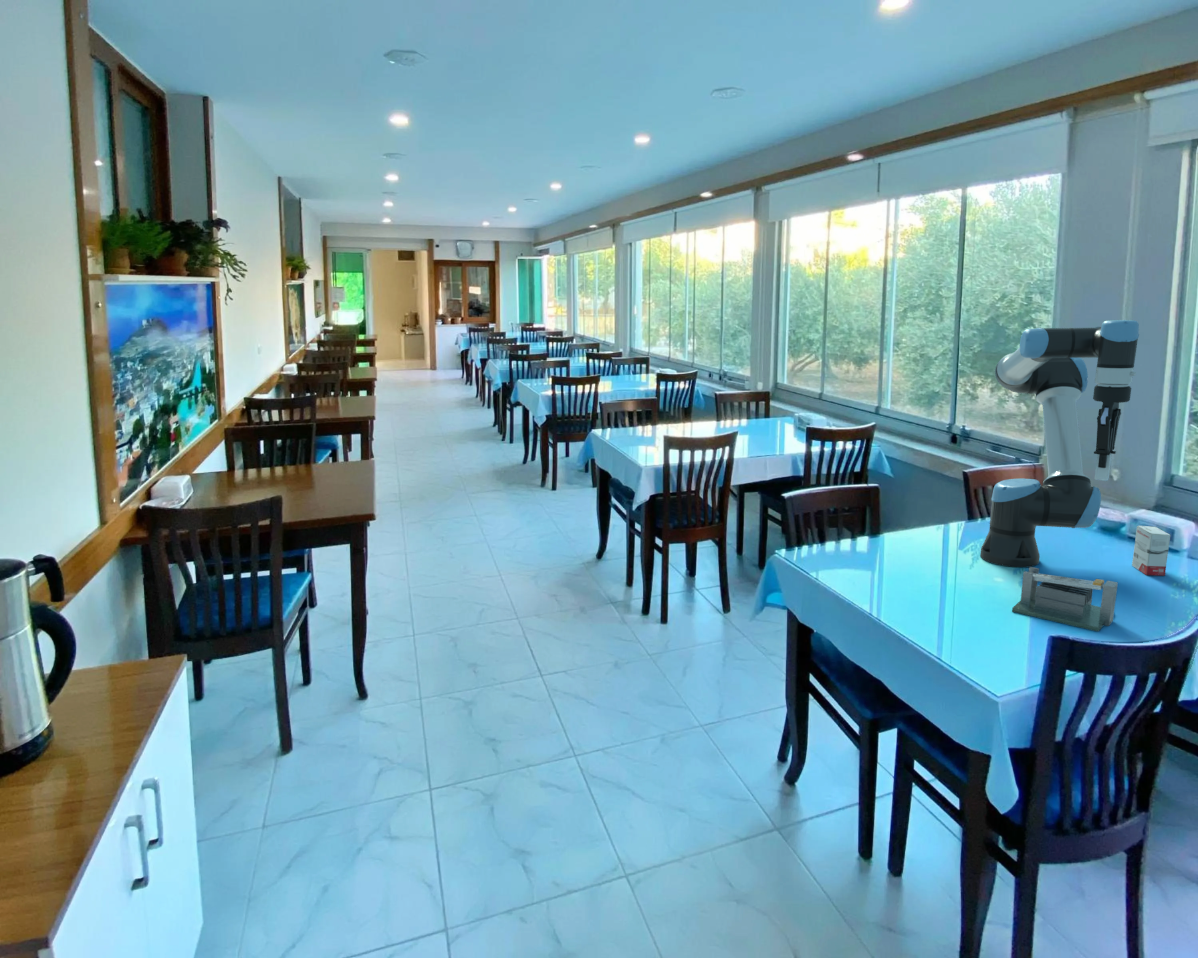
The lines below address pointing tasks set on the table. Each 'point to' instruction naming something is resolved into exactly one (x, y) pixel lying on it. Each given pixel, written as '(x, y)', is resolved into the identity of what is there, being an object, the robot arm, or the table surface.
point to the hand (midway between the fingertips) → (1101, 479)
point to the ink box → (1151, 550)
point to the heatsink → (1066, 603)
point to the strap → (1069, 581)
